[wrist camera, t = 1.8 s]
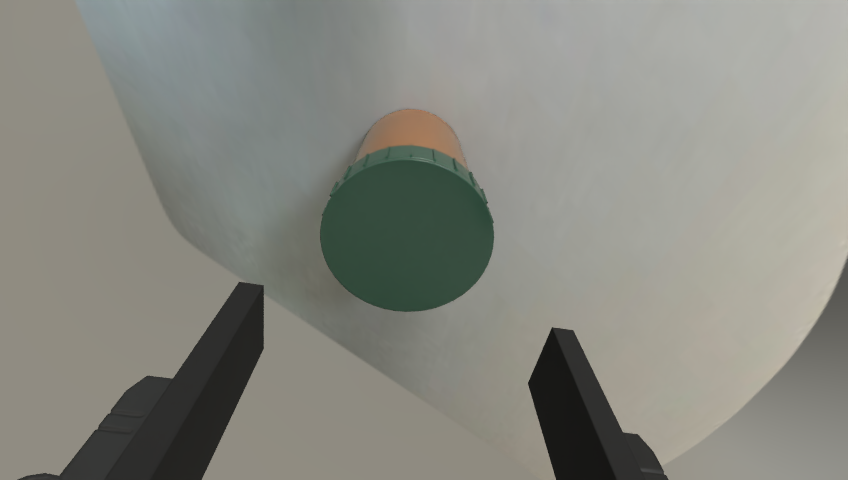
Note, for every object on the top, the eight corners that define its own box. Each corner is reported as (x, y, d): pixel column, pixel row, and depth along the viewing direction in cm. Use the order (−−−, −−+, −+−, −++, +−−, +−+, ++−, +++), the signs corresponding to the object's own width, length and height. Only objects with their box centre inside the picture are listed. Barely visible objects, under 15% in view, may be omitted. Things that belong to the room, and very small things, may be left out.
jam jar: (355, 199, 32) (323, 290, 21) (366, 99, 28) (335, 149, 18) (450, 215, 33) (465, 310, 22) (473, 119, 29) (504, 179, 19)
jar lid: (322, 276, 23) (314, 300, 21) (335, 129, 19) (325, 142, 17) (467, 297, 24) (471, 322, 22) (507, 160, 20) (517, 176, 18)
